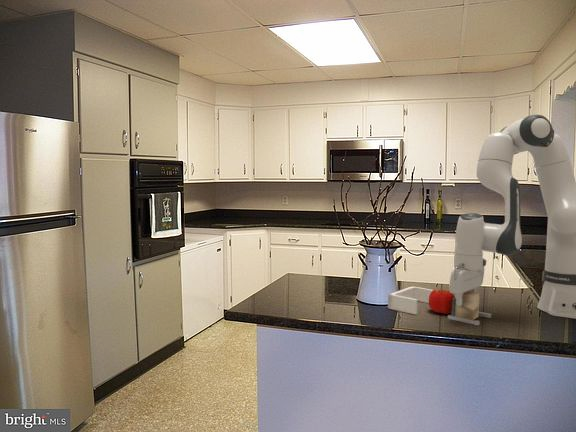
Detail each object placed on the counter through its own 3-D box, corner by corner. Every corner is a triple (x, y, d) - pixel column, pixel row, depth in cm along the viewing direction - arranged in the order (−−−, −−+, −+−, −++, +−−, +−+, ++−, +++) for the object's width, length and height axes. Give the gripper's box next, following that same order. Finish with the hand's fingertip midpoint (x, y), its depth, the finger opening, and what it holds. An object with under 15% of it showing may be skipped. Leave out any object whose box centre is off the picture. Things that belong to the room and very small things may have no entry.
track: (491, 317, 161) (491, 314, 161) (478, 325, 152) (478, 321, 152) (461, 311, 168) (461, 308, 167) (447, 318, 159) (447, 315, 158)
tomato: (438, 307, 173) (439, 286, 172) (460, 313, 165) (461, 292, 165) (421, 311, 167) (422, 290, 167) (442, 317, 160) (444, 295, 159)
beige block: (479, 316, 161) (480, 293, 160) (471, 320, 156) (473, 296, 155) (459, 312, 166) (460, 289, 165) (451, 316, 160) (452, 292, 160)
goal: (438, 304, 177) (438, 290, 176) (415, 314, 163) (415, 300, 162) (411, 298, 183) (412, 286, 183) (387, 308, 170) (388, 294, 169)
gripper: (464, 267, 150) (462, 310, 151) (488, 260, 165) (485, 299, 166) (445, 264, 154) (442, 306, 155) (470, 257, 169) (467, 295, 170)
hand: (465, 302), depth 161 cm, fingers open, 8 cm apart
